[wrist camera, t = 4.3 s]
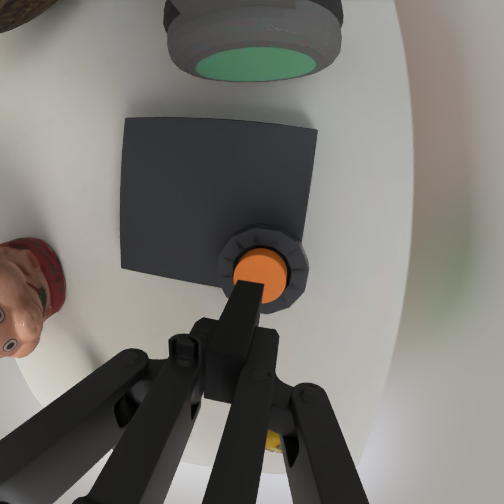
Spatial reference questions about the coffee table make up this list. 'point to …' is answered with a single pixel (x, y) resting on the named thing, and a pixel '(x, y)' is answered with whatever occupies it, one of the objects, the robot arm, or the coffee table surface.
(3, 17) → the bowl
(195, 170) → the scale
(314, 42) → the grey headset
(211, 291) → the coffee table surface
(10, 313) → the decorative planter
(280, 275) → the button
